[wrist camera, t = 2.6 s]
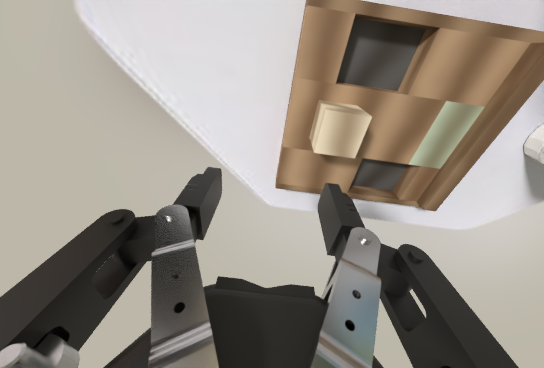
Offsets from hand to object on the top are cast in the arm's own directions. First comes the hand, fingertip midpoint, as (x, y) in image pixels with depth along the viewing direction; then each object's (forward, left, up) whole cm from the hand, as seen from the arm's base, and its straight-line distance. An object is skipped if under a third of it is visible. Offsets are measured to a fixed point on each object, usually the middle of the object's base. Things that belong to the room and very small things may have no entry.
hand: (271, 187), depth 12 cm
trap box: (+8, +12, -20) cm, 24 cm away
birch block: (+4, +6, -17) cm, 18 cm away
